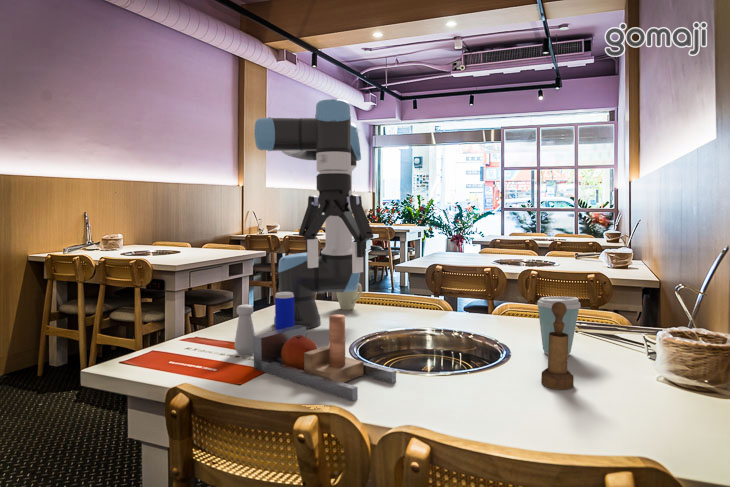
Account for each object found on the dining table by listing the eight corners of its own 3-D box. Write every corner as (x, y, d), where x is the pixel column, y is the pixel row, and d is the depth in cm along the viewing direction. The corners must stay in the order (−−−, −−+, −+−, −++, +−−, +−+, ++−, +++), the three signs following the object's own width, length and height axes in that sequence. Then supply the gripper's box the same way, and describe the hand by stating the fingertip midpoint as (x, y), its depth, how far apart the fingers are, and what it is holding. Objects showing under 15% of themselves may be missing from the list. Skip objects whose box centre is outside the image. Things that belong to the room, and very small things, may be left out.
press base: (298, 354, 132) (298, 324, 131) (396, 381, 112) (396, 346, 111) (253, 368, 121) (253, 335, 120) (352, 401, 101) (352, 361, 100)
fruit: (287, 377, 115) (286, 342, 114) (277, 365, 123) (277, 333, 123) (324, 371, 119) (323, 338, 118) (312, 361, 127) (312, 329, 126)
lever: (337, 367, 120) (337, 309, 119) (363, 374, 115) (363, 313, 114) (304, 379, 112) (303, 317, 111) (330, 387, 107) (329, 322, 106)
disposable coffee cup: (528, 354, 132) (529, 297, 131) (546, 345, 140) (547, 291, 139) (569, 362, 125) (571, 302, 123) (585, 353, 132) (587, 296, 131)
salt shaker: (251, 357, 129) (250, 307, 128) (230, 356, 131) (229, 307, 130) (260, 351, 135) (259, 303, 134) (240, 350, 136) (239, 302, 135)
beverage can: (298, 345, 141) (297, 292, 139) (288, 350, 136) (287, 295, 135) (282, 343, 143) (281, 291, 142) (272, 348, 138) (271, 293, 137)
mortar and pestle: (570, 392, 105) (572, 306, 104) (538, 386, 108) (539, 303, 107) (575, 382, 111) (578, 301, 109) (545, 377, 114) (546, 298, 113)
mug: (332, 311, 186) (332, 279, 185) (338, 306, 195) (337, 275, 194) (361, 312, 184) (361, 279, 183) (366, 306, 194) (366, 275, 193)
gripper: (282, 174, 115) (284, 267, 117) (366, 169, 99) (367, 276, 101) (306, 176, 121) (307, 264, 123) (389, 171, 105) (389, 272, 107)
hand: (334, 270), depth 112 cm, fingers open, 13 cm apart
